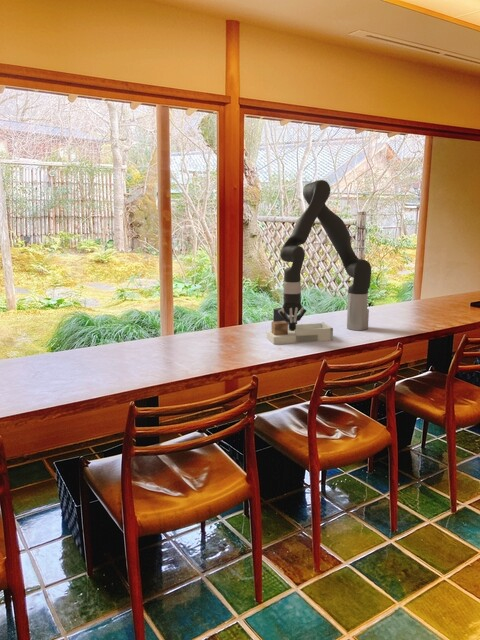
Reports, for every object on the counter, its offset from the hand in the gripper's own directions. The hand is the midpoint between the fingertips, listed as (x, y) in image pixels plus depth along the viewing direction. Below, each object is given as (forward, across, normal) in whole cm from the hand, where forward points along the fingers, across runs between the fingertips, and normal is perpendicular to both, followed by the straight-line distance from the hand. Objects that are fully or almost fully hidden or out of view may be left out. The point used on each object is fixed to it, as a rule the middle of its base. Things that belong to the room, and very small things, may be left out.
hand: (292, 330), depth 237 cm
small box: (+4, -3, -19) cm, 20 cm away
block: (+1, +6, 0) cm, 6 cm away
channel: (+4, -3, 0) cm, 5 cm away
